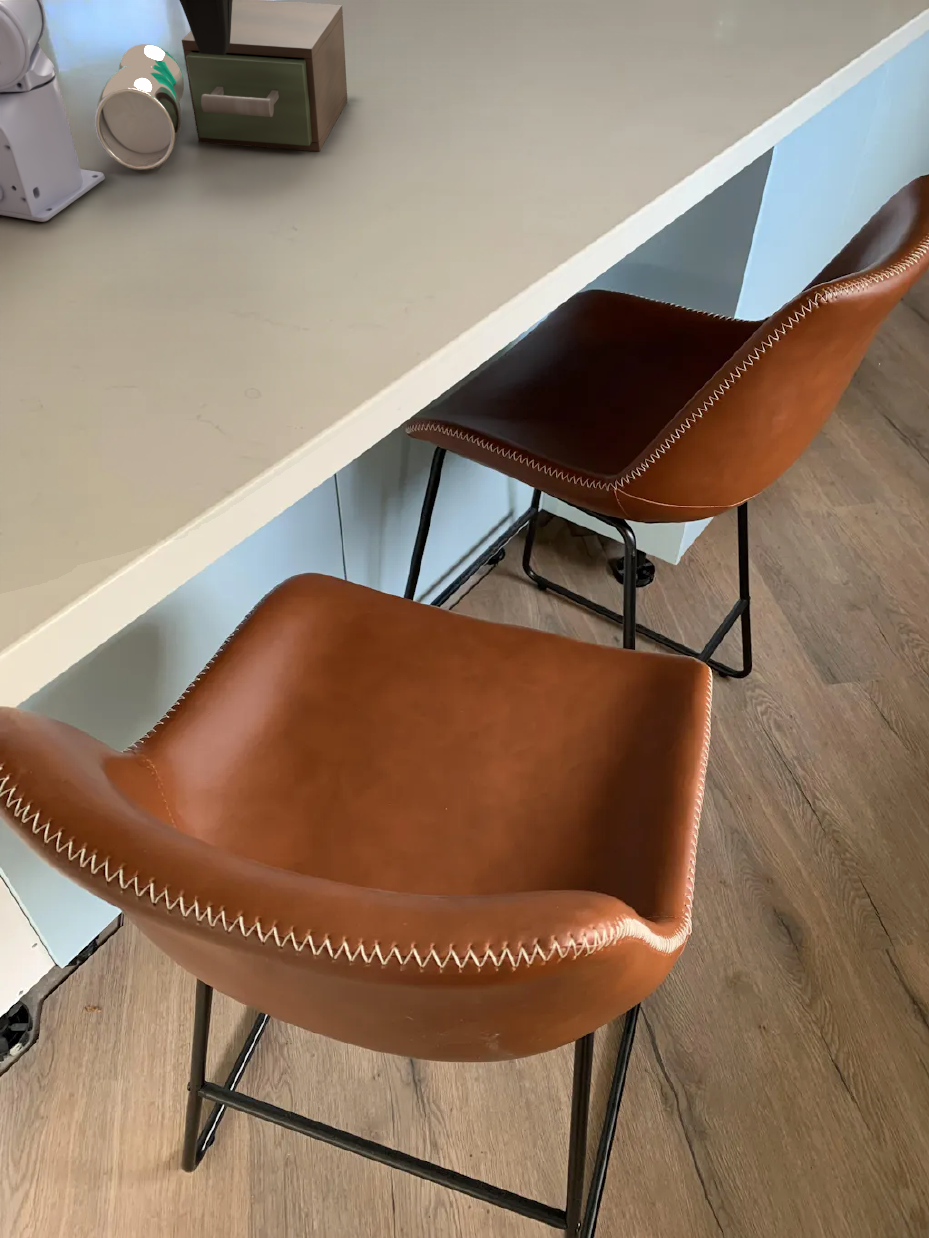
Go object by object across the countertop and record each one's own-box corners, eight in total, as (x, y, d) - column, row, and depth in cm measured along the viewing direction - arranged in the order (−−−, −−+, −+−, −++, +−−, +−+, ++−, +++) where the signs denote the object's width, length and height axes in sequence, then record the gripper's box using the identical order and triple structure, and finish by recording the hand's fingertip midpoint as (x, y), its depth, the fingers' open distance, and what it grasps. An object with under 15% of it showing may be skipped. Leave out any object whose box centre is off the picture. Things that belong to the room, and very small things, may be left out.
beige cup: (182, 38, 90) (169, 86, 80) (194, 118, 95) (183, 172, 85) (106, 38, 90) (83, 86, 79) (122, 118, 94) (102, 173, 84)
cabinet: (319, 151, 89) (311, 48, 83) (198, 142, 90) (181, 40, 84) (347, 101, 98) (342, 4, 92) (237, 93, 99) (224, -3, 93)
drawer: (299, 163, 85) (291, 80, 80) (185, 155, 85) (170, 71, 80) (336, 98, 96) (331, 22, 91) (235, 91, 97) (225, 15, 92)
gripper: (208, -146, 61) (239, 86, 71) (265, -180, 71) (285, 28, 81) (101, -152, 61) (146, 79, 71) (173, -185, 71) (204, 22, 81)
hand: (214, 51), depth 76 cm, fingers closed
